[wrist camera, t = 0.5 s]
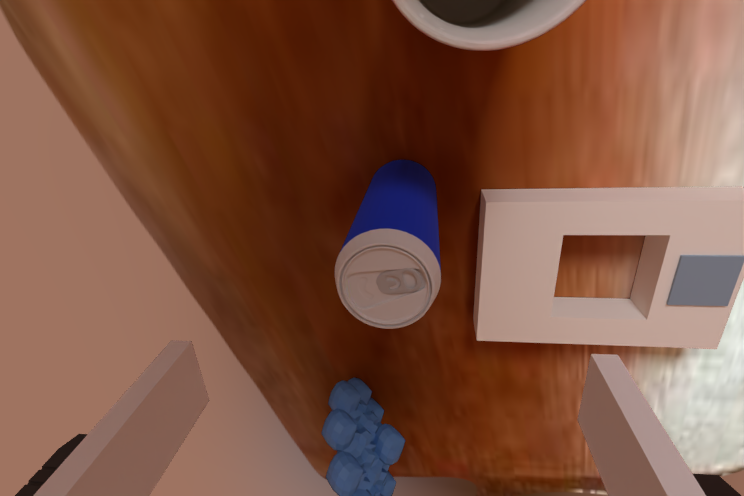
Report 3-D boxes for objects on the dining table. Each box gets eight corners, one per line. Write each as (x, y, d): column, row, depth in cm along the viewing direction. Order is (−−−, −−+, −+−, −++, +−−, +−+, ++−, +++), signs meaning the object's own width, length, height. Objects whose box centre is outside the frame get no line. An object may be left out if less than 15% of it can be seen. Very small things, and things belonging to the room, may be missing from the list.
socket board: (481, 189, 32) (486, 203, 29) (741, 186, 29) (775, 200, 27) (473, 319, 37) (476, 342, 34) (694, 325, 34) (718, 350, 32)
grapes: (429, 431, 43) (429, 556, 33) (370, 443, 45) (352, 565, 35) (385, 346, 39) (369, 457, 29) (323, 363, 41) (286, 473, 30)
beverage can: (381, 227, 34) (350, 341, 21) (362, 167, 32) (314, 251, 19) (443, 212, 33) (453, 323, 20) (426, 149, 31) (425, 224, 18)
